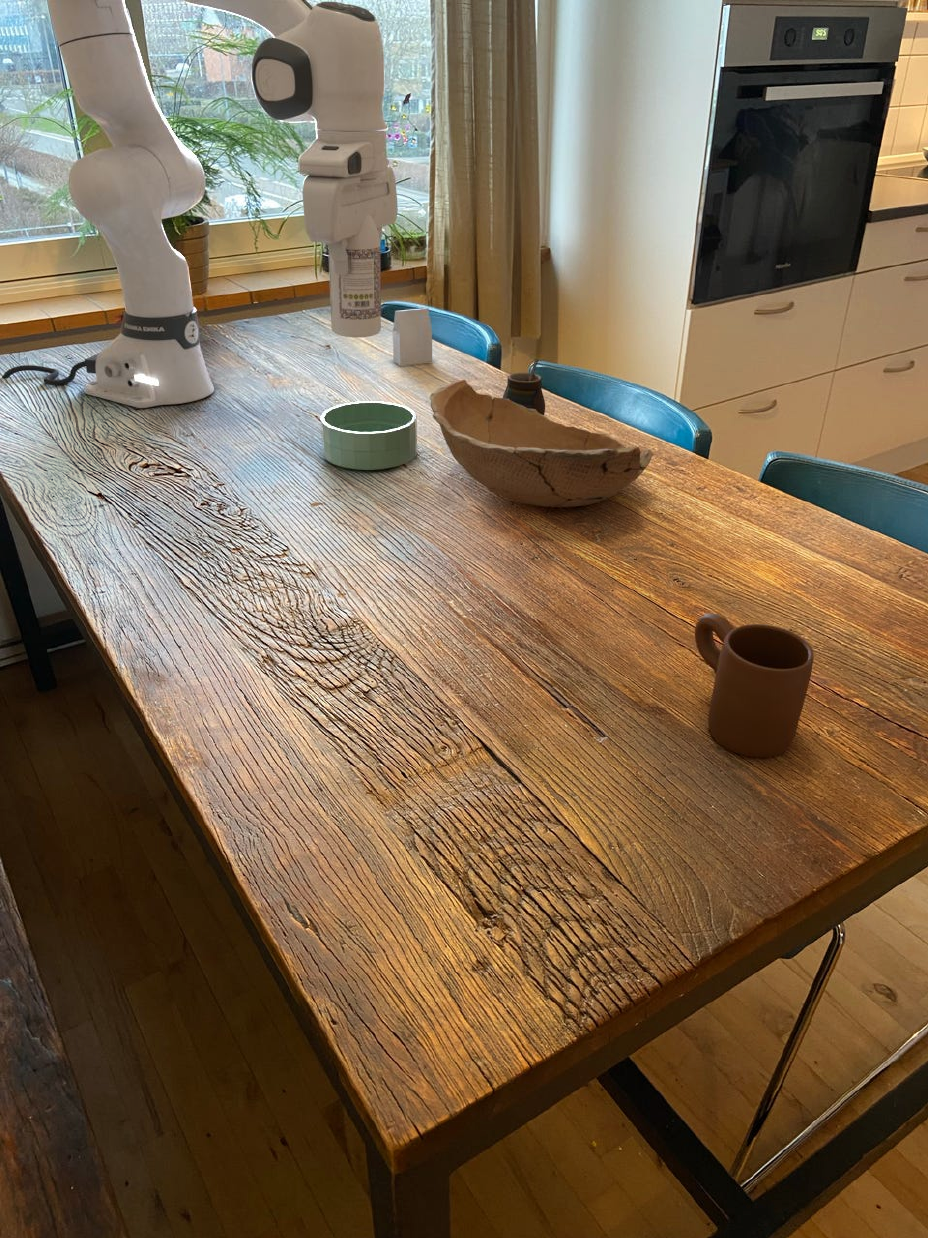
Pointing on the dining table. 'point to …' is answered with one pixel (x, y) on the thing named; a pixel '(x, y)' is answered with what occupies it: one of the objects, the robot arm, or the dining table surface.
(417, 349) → the white boxy piece
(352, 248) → the bath foam
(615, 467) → the ceramic bowl
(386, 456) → the green pet bowl
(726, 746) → the mug
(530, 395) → the mate gourd
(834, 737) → the dining table surface
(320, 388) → the dining table surface
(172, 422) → the dining table surface
